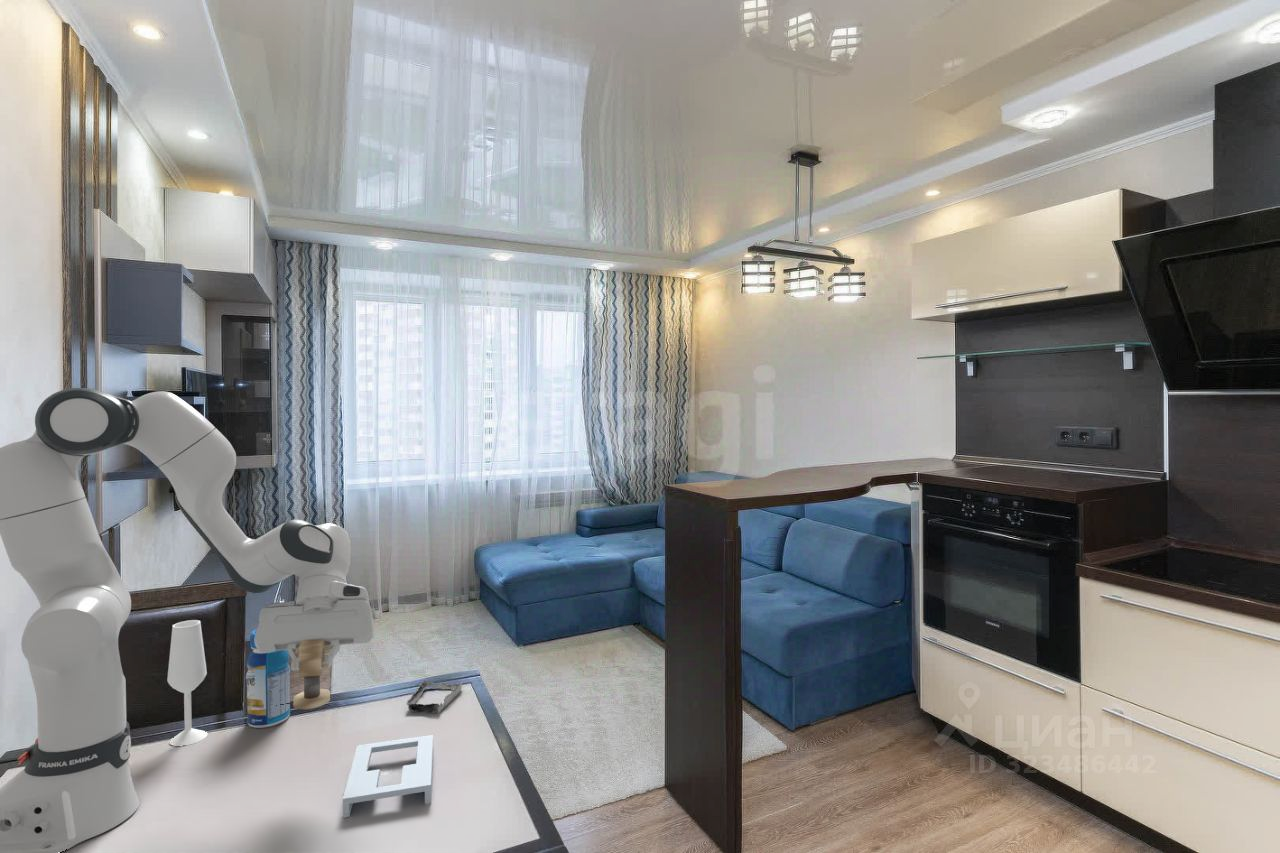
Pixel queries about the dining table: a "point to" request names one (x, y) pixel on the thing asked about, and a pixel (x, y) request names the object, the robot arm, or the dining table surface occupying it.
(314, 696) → the beech peg
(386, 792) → the keyhole plate
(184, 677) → the champagne flute
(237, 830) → the dining table surface
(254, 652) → the beverage bottle
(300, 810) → the dining table surface
